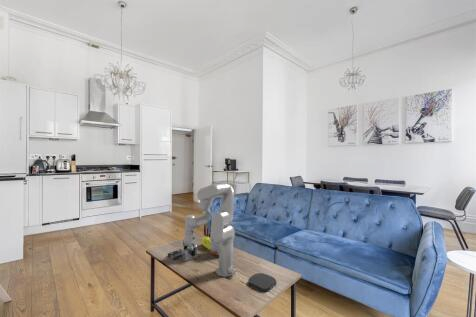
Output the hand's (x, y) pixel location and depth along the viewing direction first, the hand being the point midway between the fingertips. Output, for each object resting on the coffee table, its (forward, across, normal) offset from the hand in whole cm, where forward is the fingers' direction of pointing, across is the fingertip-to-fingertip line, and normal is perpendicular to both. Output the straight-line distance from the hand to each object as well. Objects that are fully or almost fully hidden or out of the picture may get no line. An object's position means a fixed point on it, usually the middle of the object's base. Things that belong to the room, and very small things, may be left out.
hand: (189, 253), depth 168 cm
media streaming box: (+3, -62, -10) cm, 62 cm away
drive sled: (+3, +10, +4) cm, 11 cm away
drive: (+3, 0, 0) cm, 3 cm away
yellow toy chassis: (+4, +5, -24) cm, 24 cm away
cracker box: (+3, -11, -20) cm, 23 cm away
